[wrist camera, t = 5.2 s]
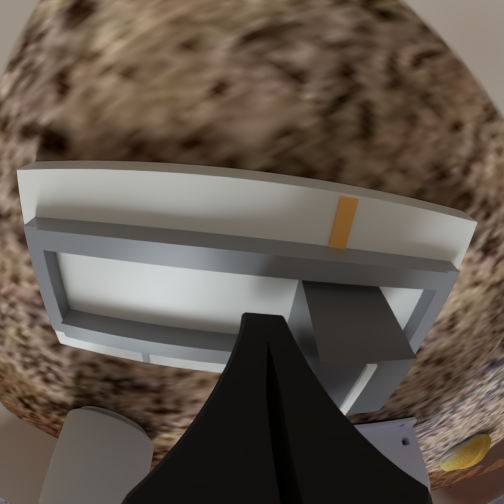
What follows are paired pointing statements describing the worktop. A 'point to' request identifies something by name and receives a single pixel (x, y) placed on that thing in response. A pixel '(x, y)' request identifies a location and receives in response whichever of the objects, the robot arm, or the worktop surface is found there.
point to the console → (220, 253)
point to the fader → (350, 342)
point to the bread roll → (466, 453)
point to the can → (96, 459)
